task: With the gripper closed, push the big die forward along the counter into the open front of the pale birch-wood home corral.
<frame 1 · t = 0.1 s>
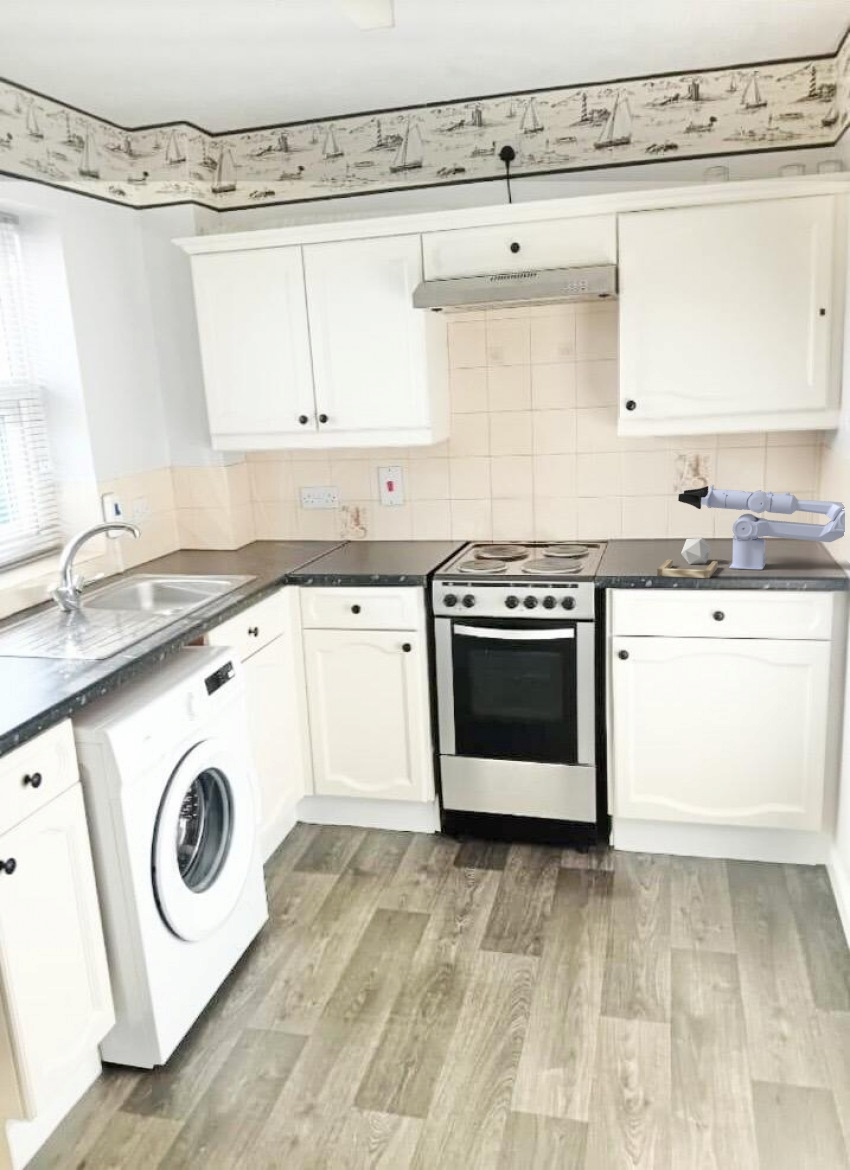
hand: (681, 495, 278), 22 cm above the worktop, tool horizontal, fingers open, 7 cm apart
die: (696, 563, 284), on the worktop
corral: (688, 571, 273), on the worktop
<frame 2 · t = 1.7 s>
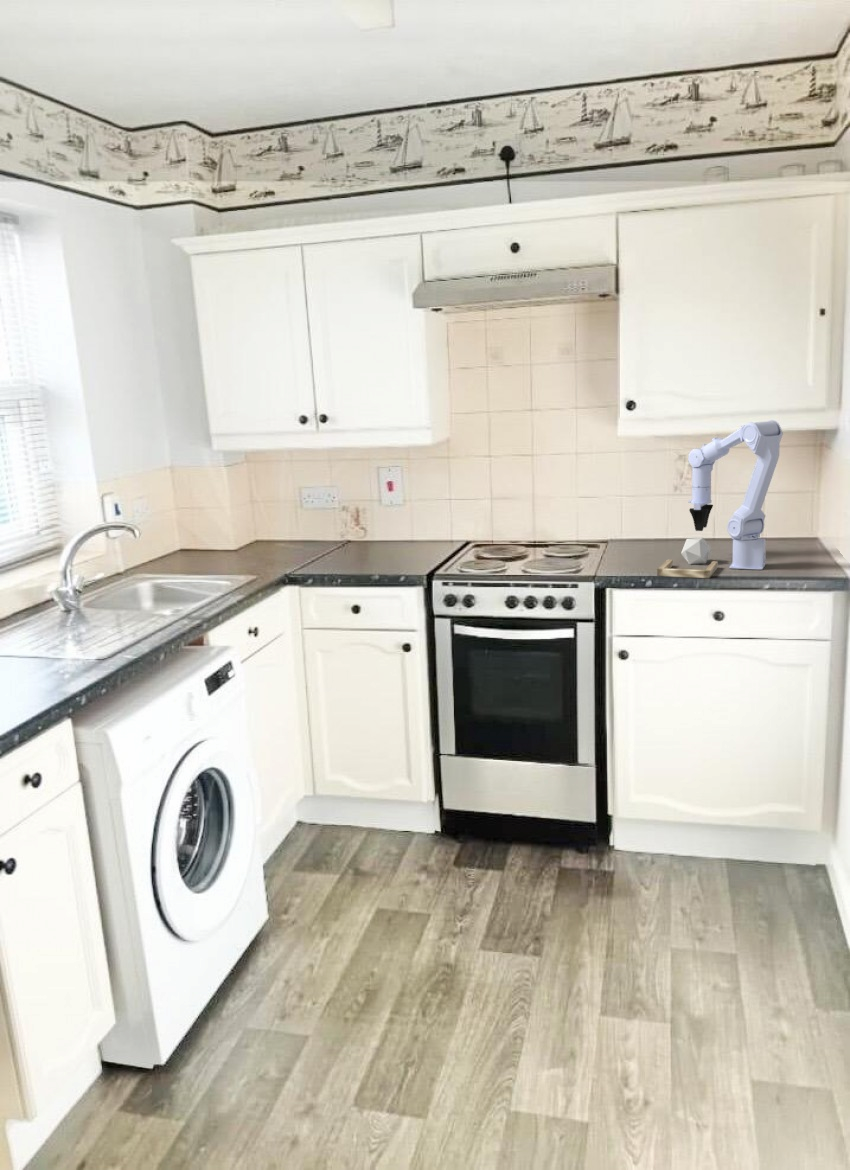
hand: (701, 529, 288), 9 cm above the worktop, tool pointing down, fingers open, 6 cm apart
nothing on the worktop moved.
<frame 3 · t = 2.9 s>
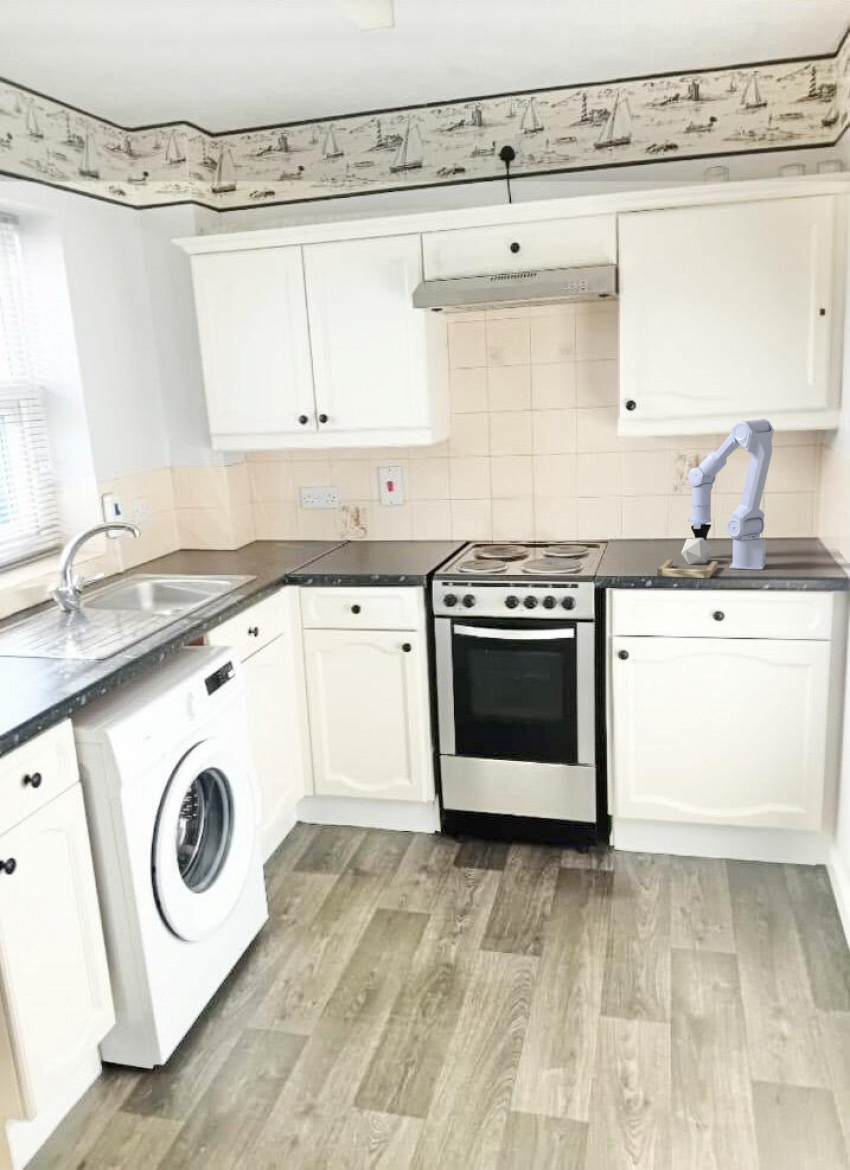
hand: (700, 547, 290), 3 cm above the worktop, tool pointing down, fingers closed
nothing on the worktop moved.
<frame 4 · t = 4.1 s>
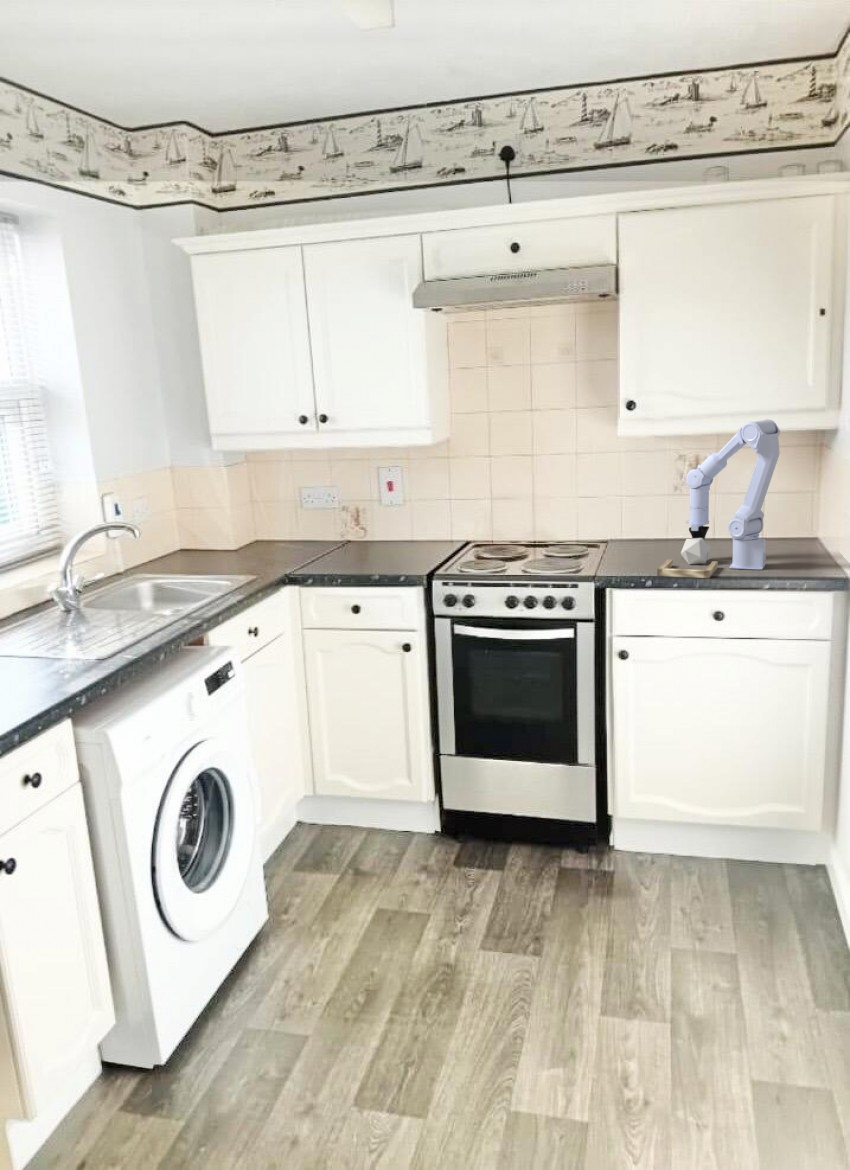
hand: (698, 549, 287), 3 cm above the worktop, tool pointing down, fingers closed
die: (695, 563, 283), on the worktop, touching gripper
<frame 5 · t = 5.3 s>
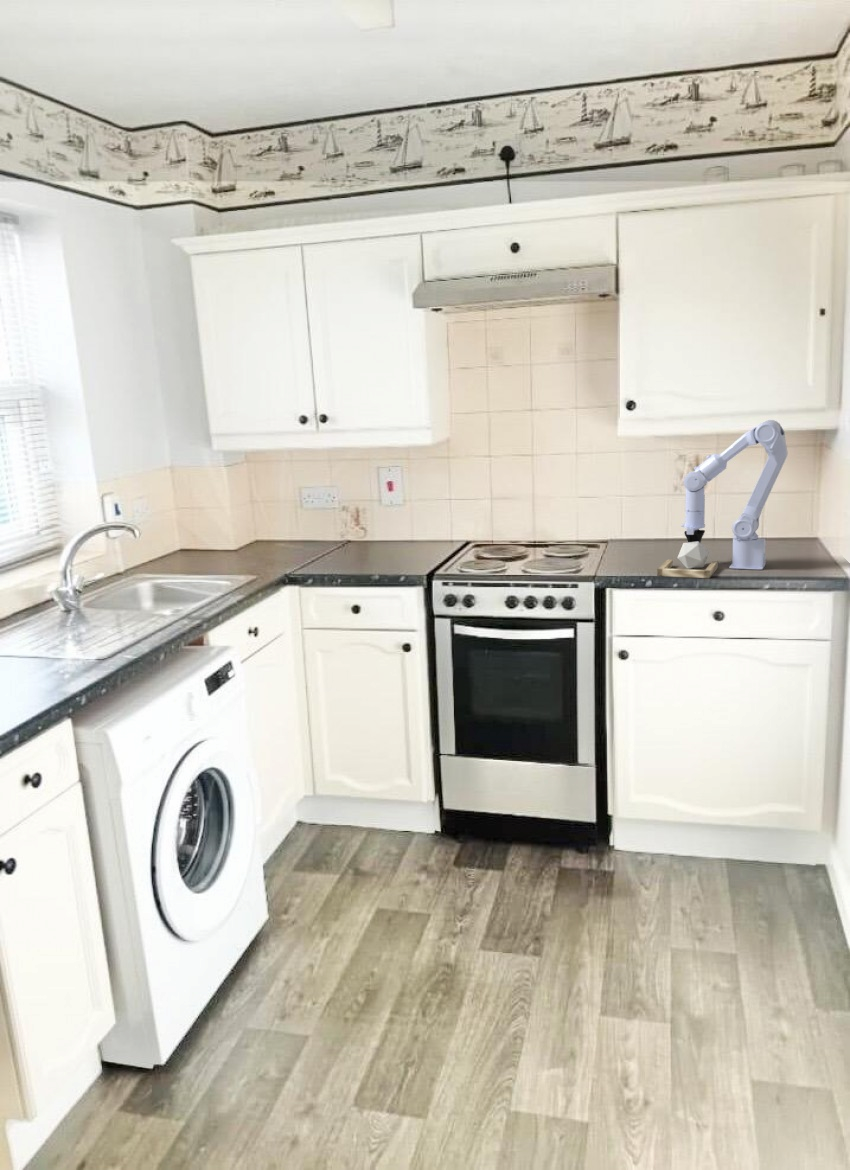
hand: (694, 553, 281), 3 cm above the worktop, tool pointing down, fingers closed
die: (693, 567, 278), on the worktop, touching gripper
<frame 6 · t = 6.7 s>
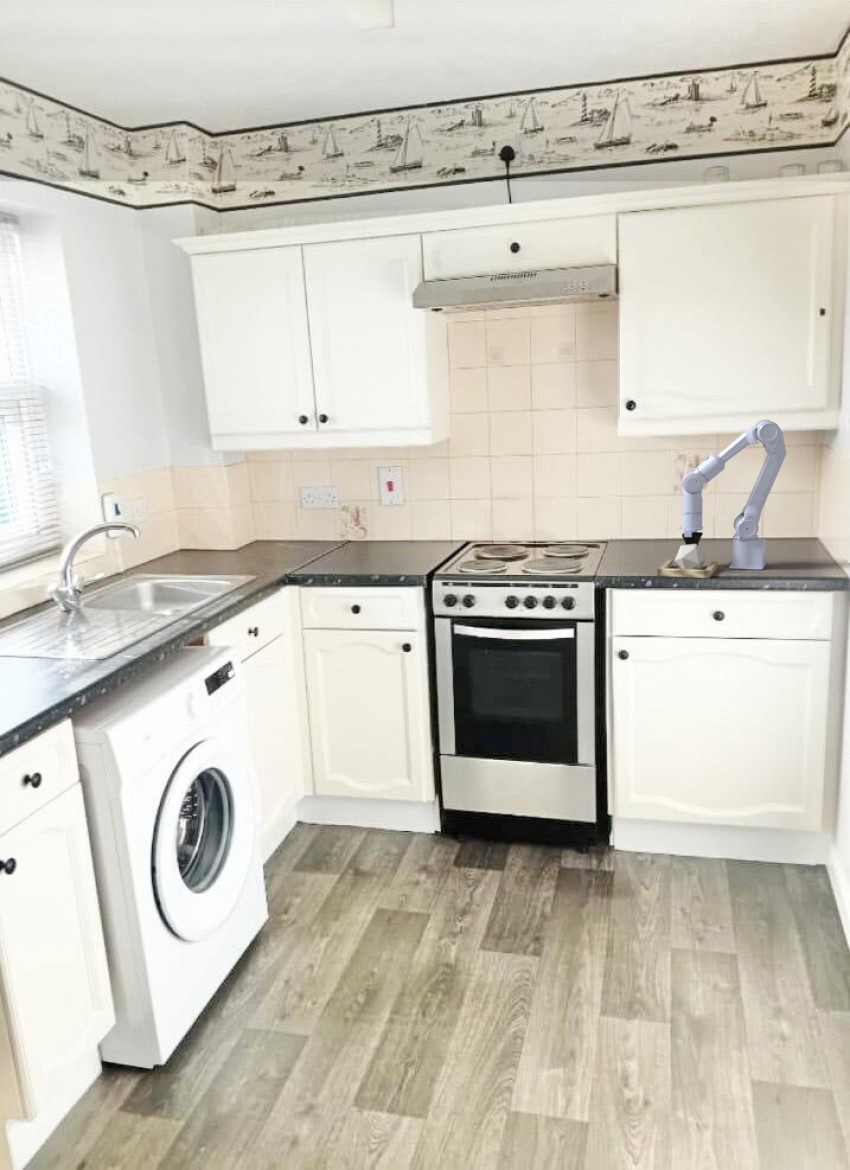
hand: (692, 556, 277), 3 cm above the worktop, tool pointing down, fingers closed
die: (690, 570, 274), on the worktop, touching gripper
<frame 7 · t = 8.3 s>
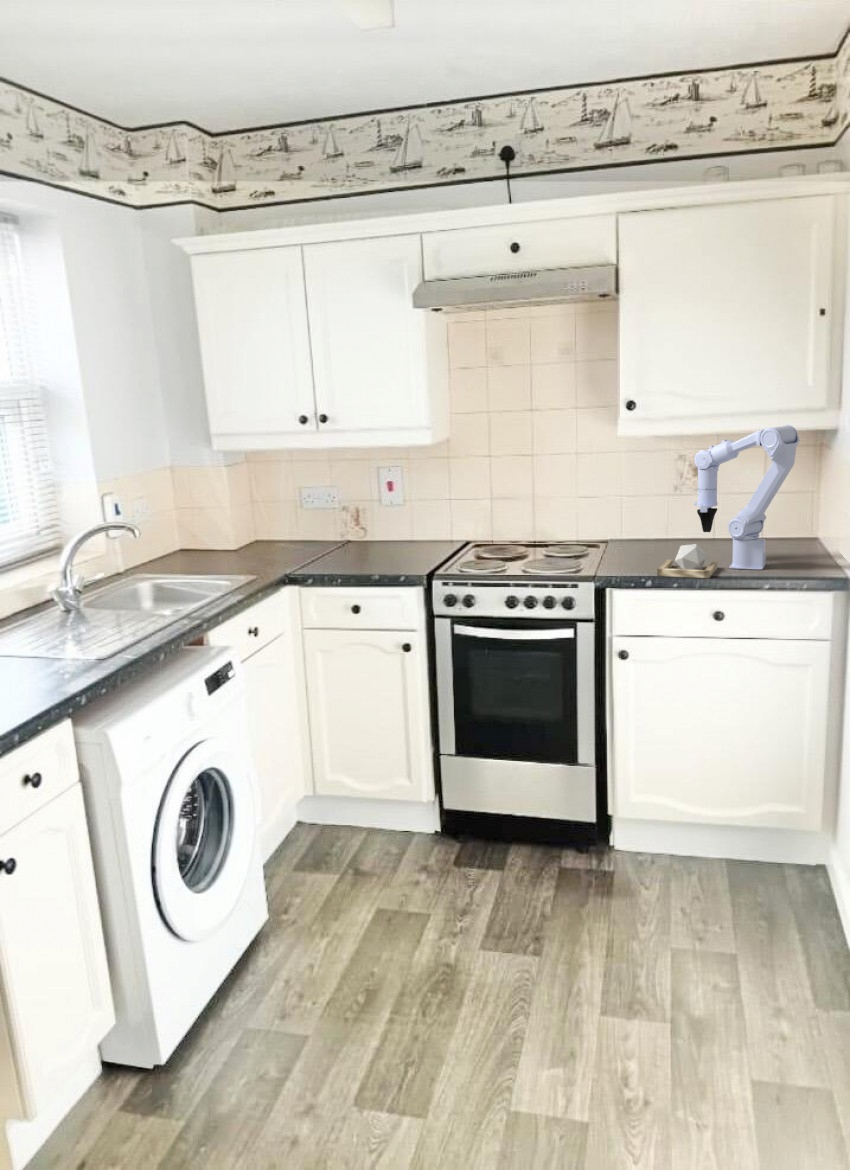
hand: (707, 531, 283), 9 cm above the worktop, tool pointing down, fingers closed
die: (690, 570, 274), on the worktop
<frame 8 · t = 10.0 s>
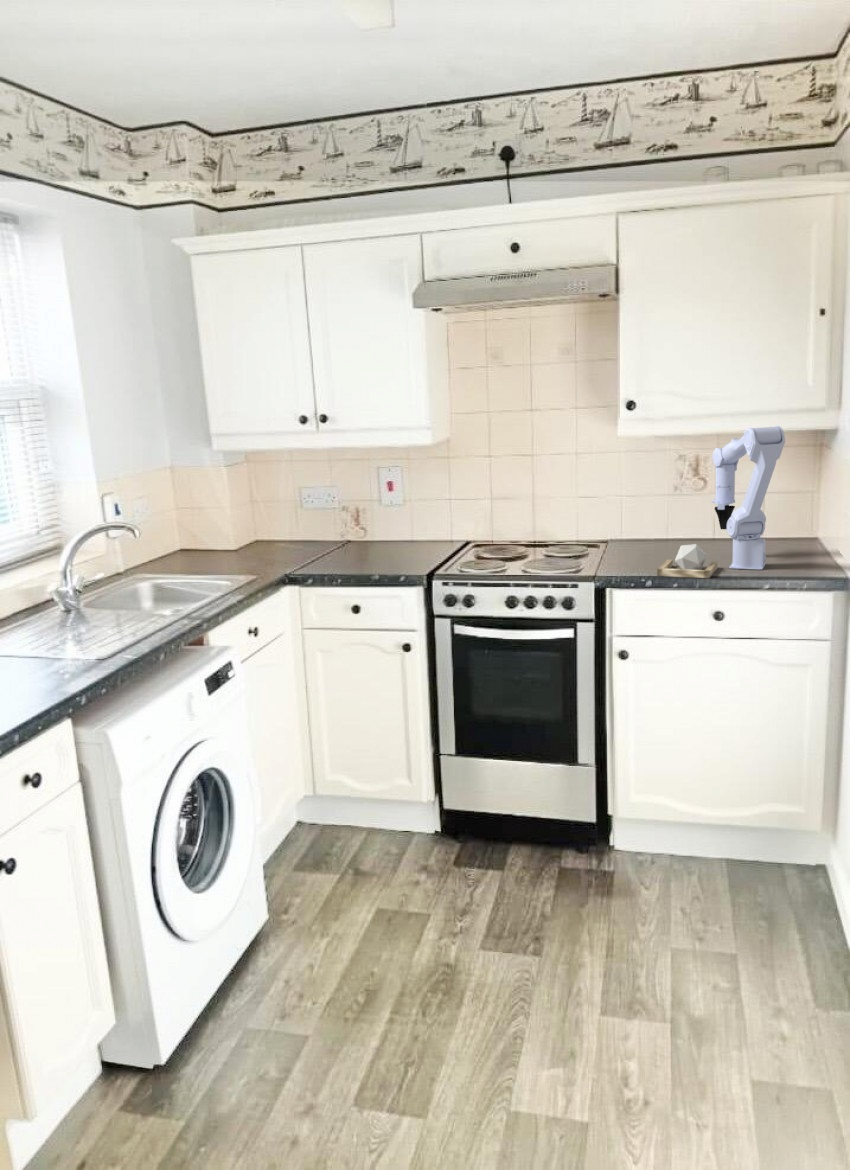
hand: (724, 529, 286), 9 cm above the worktop, tool pointing down, fingers closed
nothing on the worktop moved.
at the end: die 2.4 cm from the target spot, on the worktop; die tilted 0° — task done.
